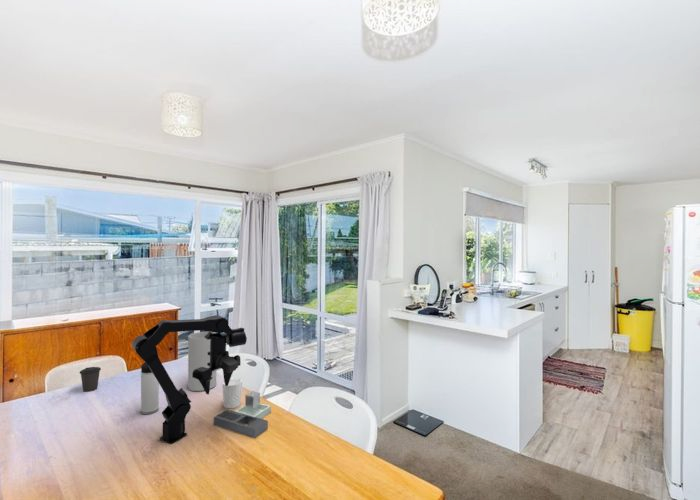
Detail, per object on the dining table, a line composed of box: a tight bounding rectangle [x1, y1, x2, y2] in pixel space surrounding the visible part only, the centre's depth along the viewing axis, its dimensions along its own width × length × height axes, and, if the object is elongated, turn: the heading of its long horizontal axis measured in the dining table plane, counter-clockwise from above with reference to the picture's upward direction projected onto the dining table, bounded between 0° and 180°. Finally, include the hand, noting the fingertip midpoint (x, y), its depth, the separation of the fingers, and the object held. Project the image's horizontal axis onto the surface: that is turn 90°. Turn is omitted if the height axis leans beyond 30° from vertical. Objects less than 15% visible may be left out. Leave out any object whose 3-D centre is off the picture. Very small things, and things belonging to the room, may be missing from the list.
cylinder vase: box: [187, 331, 217, 392], centre depth 166 cm, size 12×12×25 cm
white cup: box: [222, 377, 243, 409], centre depth 147 cm, size 8×8×10 cm
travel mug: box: [140, 361, 160, 415], centre depth 141 cm, size 6×7×20 cm
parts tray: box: [235, 402, 272, 419], centre depth 138 cm, size 10×10×3 cm
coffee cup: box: [78, 366, 102, 393], centre depth 162 cm, size 8×8×10 cm
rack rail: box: [213, 408, 269, 439], centre depth 129 cm, size 7×20×3 cm, turn 64°
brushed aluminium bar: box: [244, 390, 261, 416], centre depth 138 cm, size 4×4×8 cm
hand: (217, 389), depth 132 cm, fingers open, 9 cm apart
